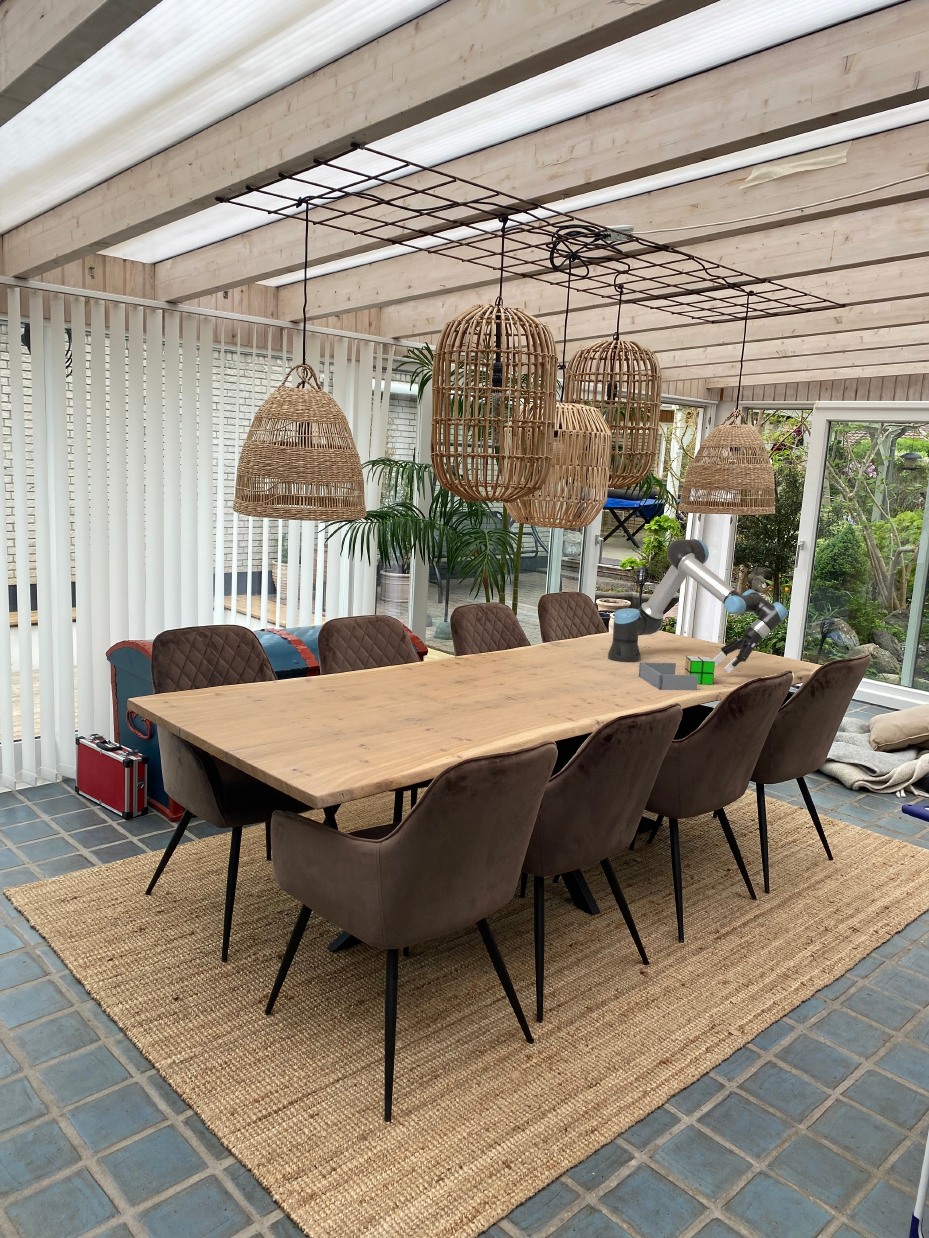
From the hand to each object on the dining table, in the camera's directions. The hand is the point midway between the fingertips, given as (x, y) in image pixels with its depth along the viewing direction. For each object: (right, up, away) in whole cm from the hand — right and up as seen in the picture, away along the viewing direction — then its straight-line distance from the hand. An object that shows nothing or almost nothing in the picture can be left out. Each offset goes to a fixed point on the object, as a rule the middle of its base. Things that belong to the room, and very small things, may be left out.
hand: (719, 667), depth 375 cm
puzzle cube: (-9, -6, 0) cm, 11 cm away
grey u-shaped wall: (-23, -6, -5) cm, 25 cm away
